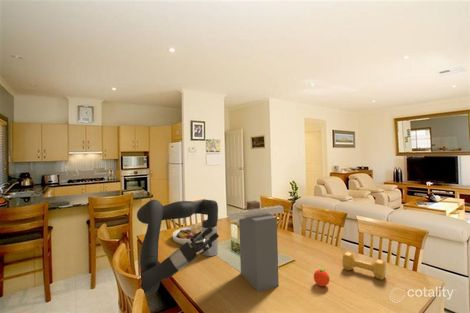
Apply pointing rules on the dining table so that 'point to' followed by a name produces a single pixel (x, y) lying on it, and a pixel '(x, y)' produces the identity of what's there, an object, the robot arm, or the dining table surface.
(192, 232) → the bowl
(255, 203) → the walnut block
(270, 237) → the stand
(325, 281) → the tomato
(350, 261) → the dumbbell
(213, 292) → the dining table surface
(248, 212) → the rod
